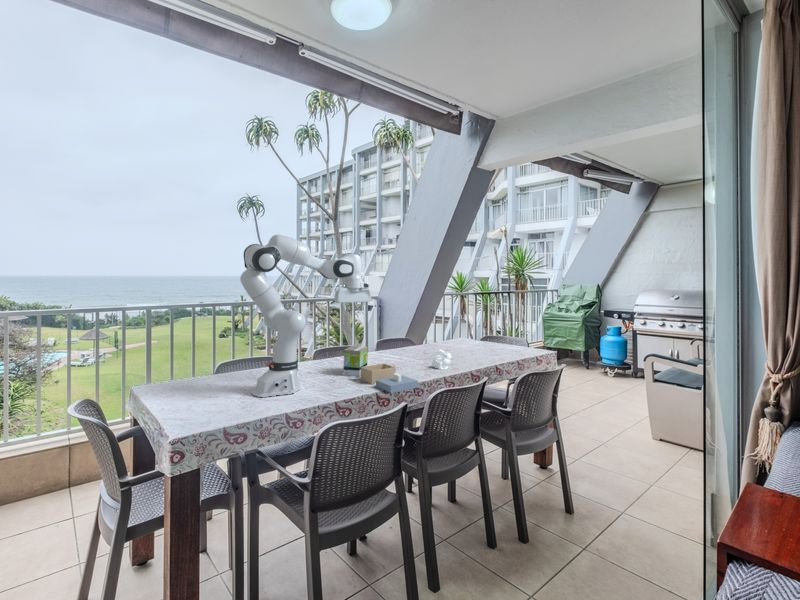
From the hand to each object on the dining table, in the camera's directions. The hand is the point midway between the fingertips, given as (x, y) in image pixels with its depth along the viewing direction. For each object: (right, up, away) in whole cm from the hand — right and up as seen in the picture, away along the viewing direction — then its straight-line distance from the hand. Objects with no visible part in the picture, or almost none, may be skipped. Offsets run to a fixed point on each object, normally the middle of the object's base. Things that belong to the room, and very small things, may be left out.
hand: (353, 311), depth 206 cm
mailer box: (+13, -37, +5) cm, 39 cm away
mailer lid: (+23, -38, -9) cm, 45 cm away
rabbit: (+50, -36, +33) cm, 70 cm away
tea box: (-1, -36, +19) cm, 41 cm away
